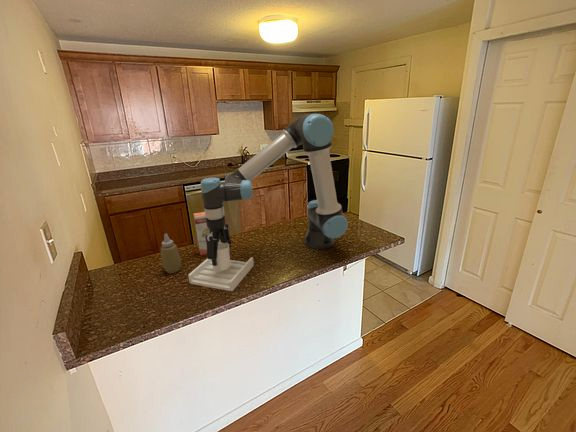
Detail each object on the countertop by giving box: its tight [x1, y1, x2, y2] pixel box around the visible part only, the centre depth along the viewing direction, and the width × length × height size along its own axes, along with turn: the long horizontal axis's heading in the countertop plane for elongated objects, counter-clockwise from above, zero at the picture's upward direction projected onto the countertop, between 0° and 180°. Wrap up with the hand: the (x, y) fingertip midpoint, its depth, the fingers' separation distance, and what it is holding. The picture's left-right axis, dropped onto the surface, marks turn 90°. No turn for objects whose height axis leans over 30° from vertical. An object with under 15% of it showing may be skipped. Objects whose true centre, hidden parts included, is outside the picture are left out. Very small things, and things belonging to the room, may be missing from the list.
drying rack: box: [187, 256, 255, 292], centre depth 121 cm, size 20×20×4 cm
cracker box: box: [193, 211, 221, 256], centre depth 139 cm, size 14×6×21 cm, turn 111°
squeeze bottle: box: [160, 233, 182, 274], centre depth 123 cm, size 8×8×18 cm
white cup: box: [217, 242, 231, 271], centre depth 118 cm, size 8×8×10 cm
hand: (222, 265), depth 120 cm, fingers open, 8 cm apart
